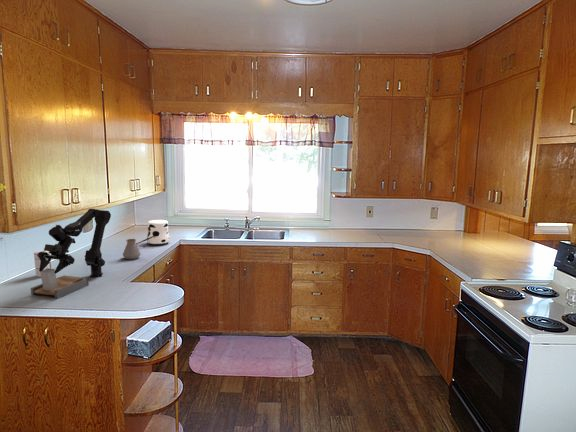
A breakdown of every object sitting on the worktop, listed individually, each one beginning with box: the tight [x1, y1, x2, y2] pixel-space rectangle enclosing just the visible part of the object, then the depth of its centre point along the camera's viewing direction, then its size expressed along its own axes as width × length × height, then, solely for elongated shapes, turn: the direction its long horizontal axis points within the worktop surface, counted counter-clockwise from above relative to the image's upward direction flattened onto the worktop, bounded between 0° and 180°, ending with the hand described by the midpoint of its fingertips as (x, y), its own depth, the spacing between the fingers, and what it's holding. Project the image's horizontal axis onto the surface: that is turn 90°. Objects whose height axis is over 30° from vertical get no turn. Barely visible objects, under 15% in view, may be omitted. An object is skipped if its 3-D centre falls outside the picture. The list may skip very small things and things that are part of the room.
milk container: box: [146, 219, 171, 246], centre depth 318 cm, size 17×17×18 cm
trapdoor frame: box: [30, 275, 90, 300], centre depth 211 cm, size 22×16×4 cm
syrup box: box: [33, 249, 52, 278], centre depth 234 cm, size 6×6×14 cm
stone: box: [40, 268, 58, 291], centre depth 204 cm, size 4×4×10 cm
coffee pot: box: [122, 236, 155, 260], centre depth 276 cm, size 21×12×15 cm, turn 108°
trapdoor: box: [34, 275, 83, 296], centre depth 210 cm, size 19×12×4 cm, turn 166°
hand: (47, 272), depth 202 cm, fingers open, 9 cm apart
